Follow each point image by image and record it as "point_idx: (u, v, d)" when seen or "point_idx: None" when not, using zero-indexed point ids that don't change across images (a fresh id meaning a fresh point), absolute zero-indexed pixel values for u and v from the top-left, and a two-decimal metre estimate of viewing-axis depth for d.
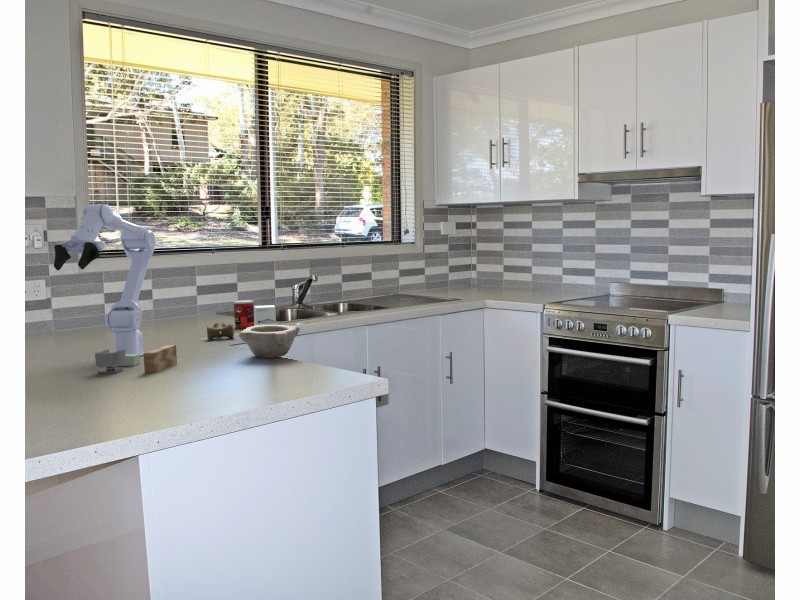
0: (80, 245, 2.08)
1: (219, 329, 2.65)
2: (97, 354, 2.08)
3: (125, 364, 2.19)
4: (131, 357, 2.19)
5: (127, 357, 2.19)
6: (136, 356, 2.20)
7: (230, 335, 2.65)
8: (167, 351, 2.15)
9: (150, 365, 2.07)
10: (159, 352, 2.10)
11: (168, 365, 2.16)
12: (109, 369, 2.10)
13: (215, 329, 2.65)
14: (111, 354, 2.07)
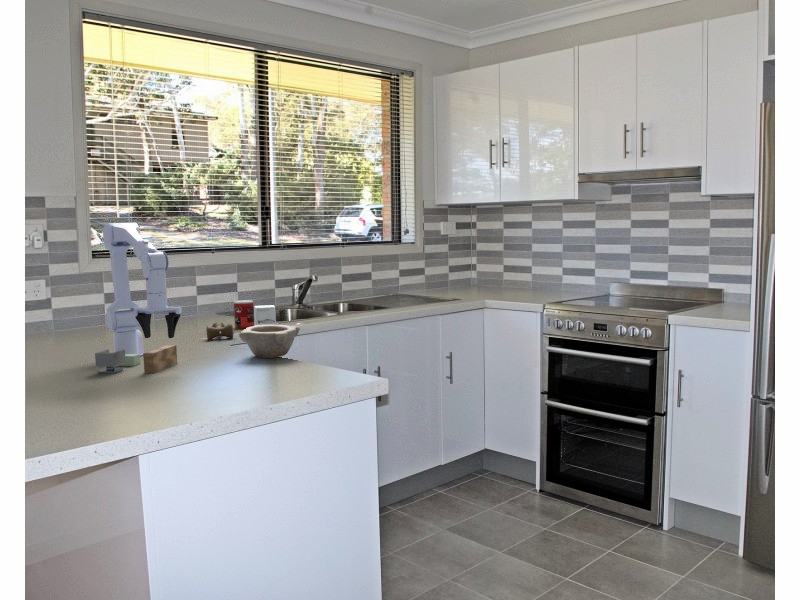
0: None
1: (219, 329, 2.66)
2: (97, 354, 2.08)
3: (125, 364, 2.19)
4: (131, 357, 2.19)
5: (127, 357, 2.19)
6: (136, 356, 2.20)
7: (230, 335, 2.66)
8: (167, 351, 2.15)
9: (149, 365, 2.07)
10: (159, 352, 2.10)
11: (168, 365, 2.16)
12: (109, 369, 2.10)
13: (215, 329, 2.65)
14: (111, 354, 2.07)
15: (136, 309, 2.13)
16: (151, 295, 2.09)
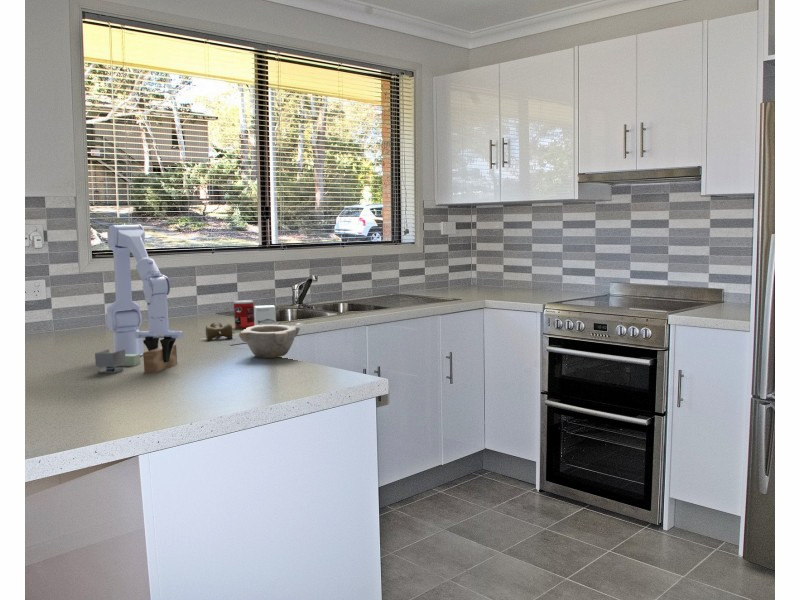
0: None
1: (218, 329, 2.66)
2: (97, 354, 2.08)
3: (125, 364, 2.19)
4: (131, 357, 2.19)
5: (127, 357, 2.19)
6: (136, 356, 2.20)
7: (229, 335, 2.66)
8: None
9: (149, 364, 2.07)
10: (159, 352, 2.10)
11: (168, 365, 2.16)
12: (109, 369, 2.10)
13: (214, 329, 2.65)
14: (111, 354, 2.07)
15: (138, 333, 2.13)
16: (153, 320, 2.10)
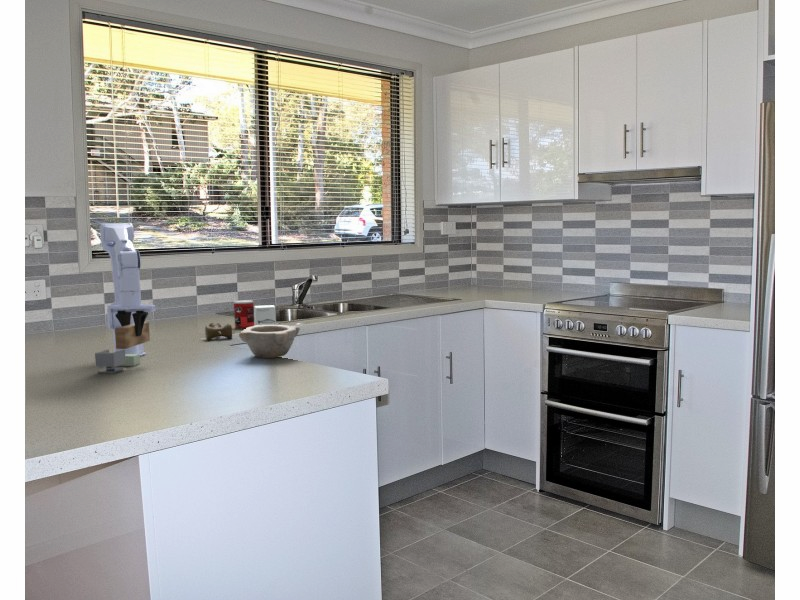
0: None
1: (218, 329, 2.66)
2: (97, 354, 2.08)
3: (125, 364, 2.19)
4: (131, 357, 2.19)
5: (127, 357, 2.19)
6: (136, 356, 2.20)
7: (229, 335, 2.66)
8: None
9: (121, 340, 2.08)
10: (131, 328, 2.11)
11: (141, 341, 2.17)
12: (109, 369, 2.10)
13: (214, 329, 2.65)
14: (111, 354, 2.07)
15: (110, 307, 2.14)
16: (124, 293, 2.11)
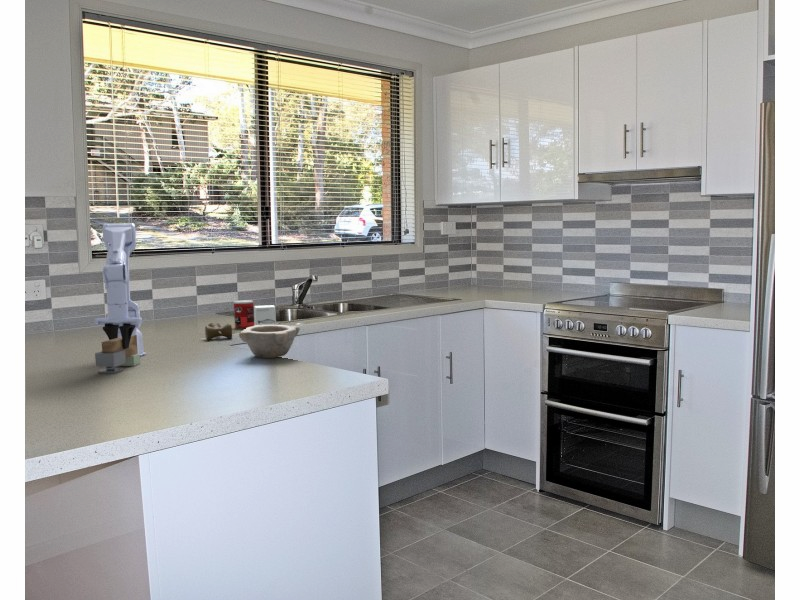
0: None
1: (218, 329, 2.66)
2: (97, 354, 2.08)
3: (125, 364, 2.19)
4: (131, 357, 2.19)
5: (127, 357, 2.19)
6: (136, 356, 2.20)
7: (229, 335, 2.66)
8: None
9: None
10: (118, 341, 2.12)
11: (128, 355, 2.18)
12: (109, 369, 2.10)
13: (214, 329, 2.65)
14: (111, 354, 2.07)
15: (97, 320, 2.15)
16: (111, 306, 2.12)
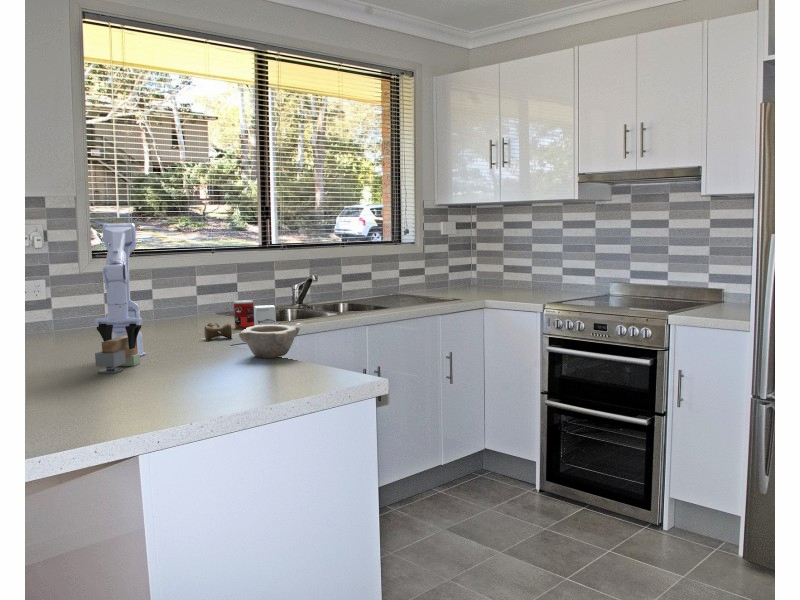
0: None
1: (217, 329, 2.66)
2: (97, 354, 2.08)
3: (125, 364, 2.19)
4: (131, 357, 2.19)
5: (127, 357, 2.19)
6: (136, 356, 2.20)
7: (228, 335, 2.66)
8: (127, 341, 2.17)
9: None
10: (118, 341, 2.12)
11: (128, 355, 2.18)
12: (109, 369, 2.10)
13: (213, 329, 2.65)
14: (111, 354, 2.07)
15: (97, 320, 2.15)
16: (111, 306, 2.12)
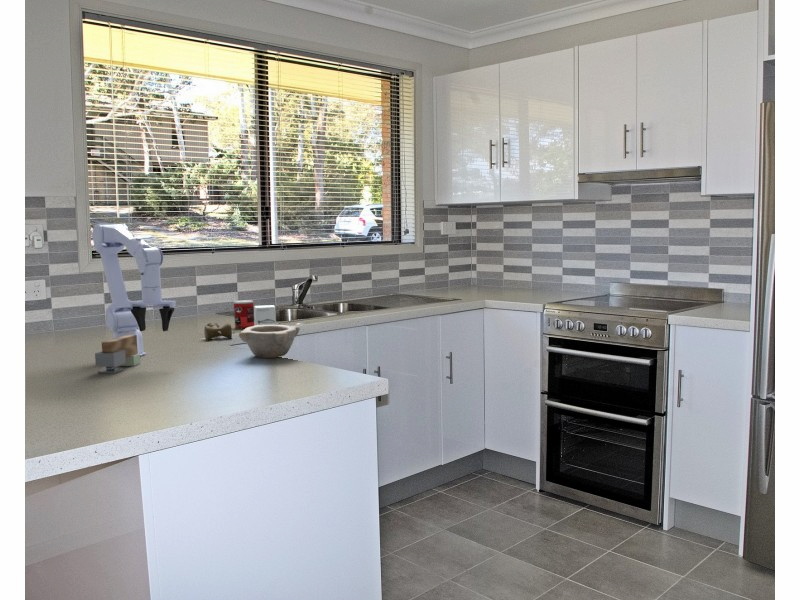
0: None
1: (217, 329, 2.66)
2: (97, 354, 2.08)
3: (125, 364, 2.19)
4: (131, 357, 2.19)
5: (127, 357, 2.19)
6: (136, 356, 2.20)
7: (229, 335, 2.67)
8: (127, 341, 2.17)
9: None
10: (118, 341, 2.12)
11: (128, 355, 2.18)
12: (109, 369, 2.10)
13: (213, 329, 2.65)
14: (111, 354, 2.07)
15: (131, 303, 2.19)
16: (146, 289, 2.16)
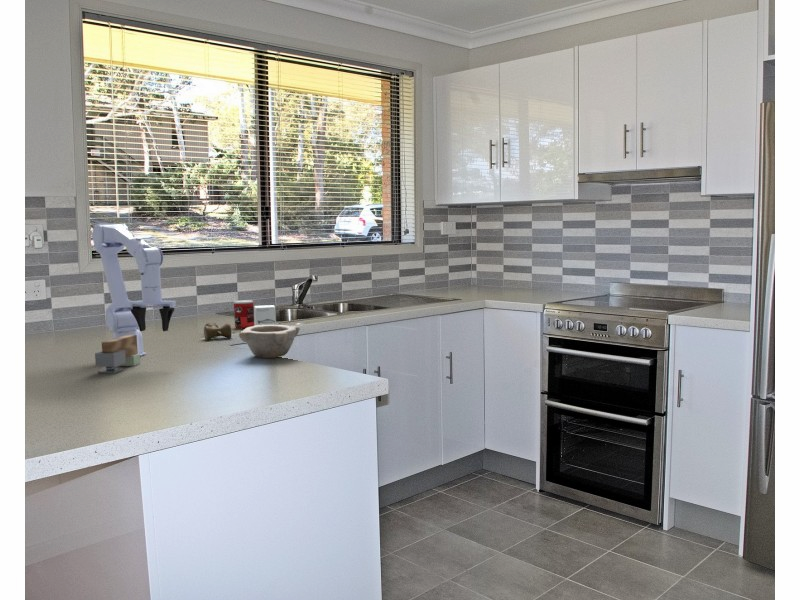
0: None
1: (217, 329, 2.66)
2: (97, 354, 2.08)
3: (125, 364, 2.19)
4: (131, 357, 2.19)
5: (127, 357, 2.19)
6: (136, 356, 2.20)
7: (228, 335, 2.67)
8: (127, 341, 2.17)
9: None
10: (118, 341, 2.12)
11: (128, 355, 2.18)
12: (109, 369, 2.10)
13: (213, 329, 2.65)
14: (111, 354, 2.07)
15: (131, 303, 2.19)
16: (146, 289, 2.16)
